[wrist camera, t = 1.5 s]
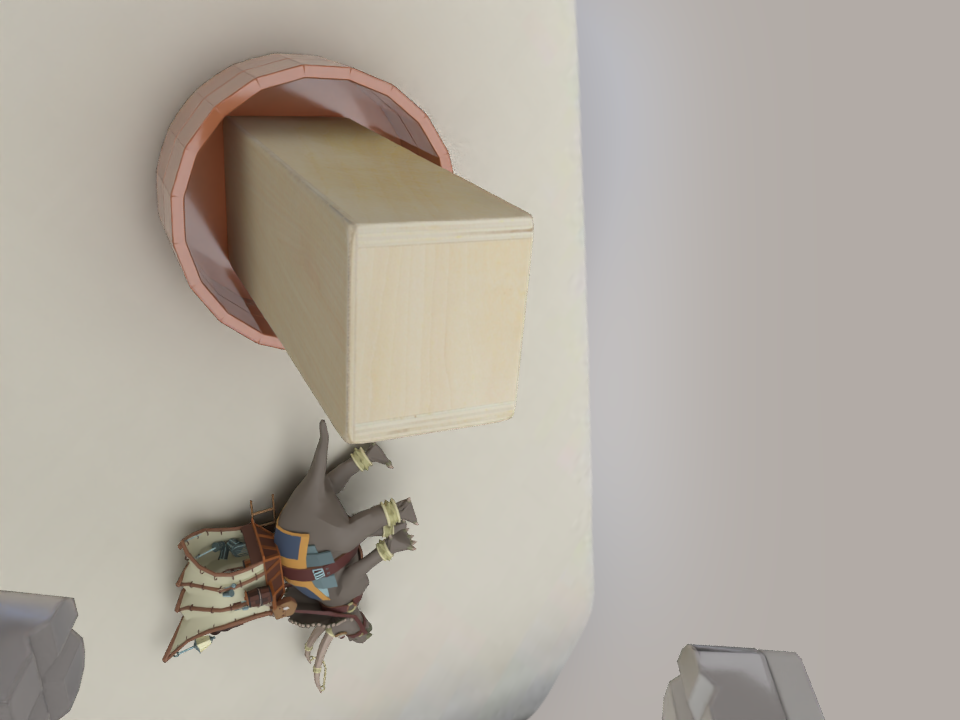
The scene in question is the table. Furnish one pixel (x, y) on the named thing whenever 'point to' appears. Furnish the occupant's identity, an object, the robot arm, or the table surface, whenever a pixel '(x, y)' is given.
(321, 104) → the pot
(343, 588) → the figurine
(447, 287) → the toy refrigerator
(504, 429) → the table surface
